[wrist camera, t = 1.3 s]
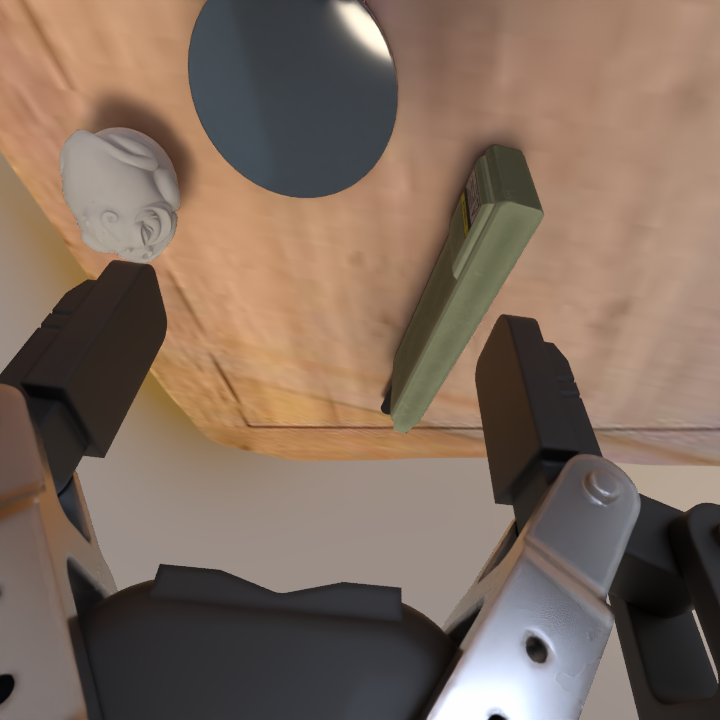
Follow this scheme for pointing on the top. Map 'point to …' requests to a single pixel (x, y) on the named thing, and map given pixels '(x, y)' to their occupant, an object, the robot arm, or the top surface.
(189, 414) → the top surface
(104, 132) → the white stone carving
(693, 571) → the robot arm
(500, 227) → the handheld radio
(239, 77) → the coaster
